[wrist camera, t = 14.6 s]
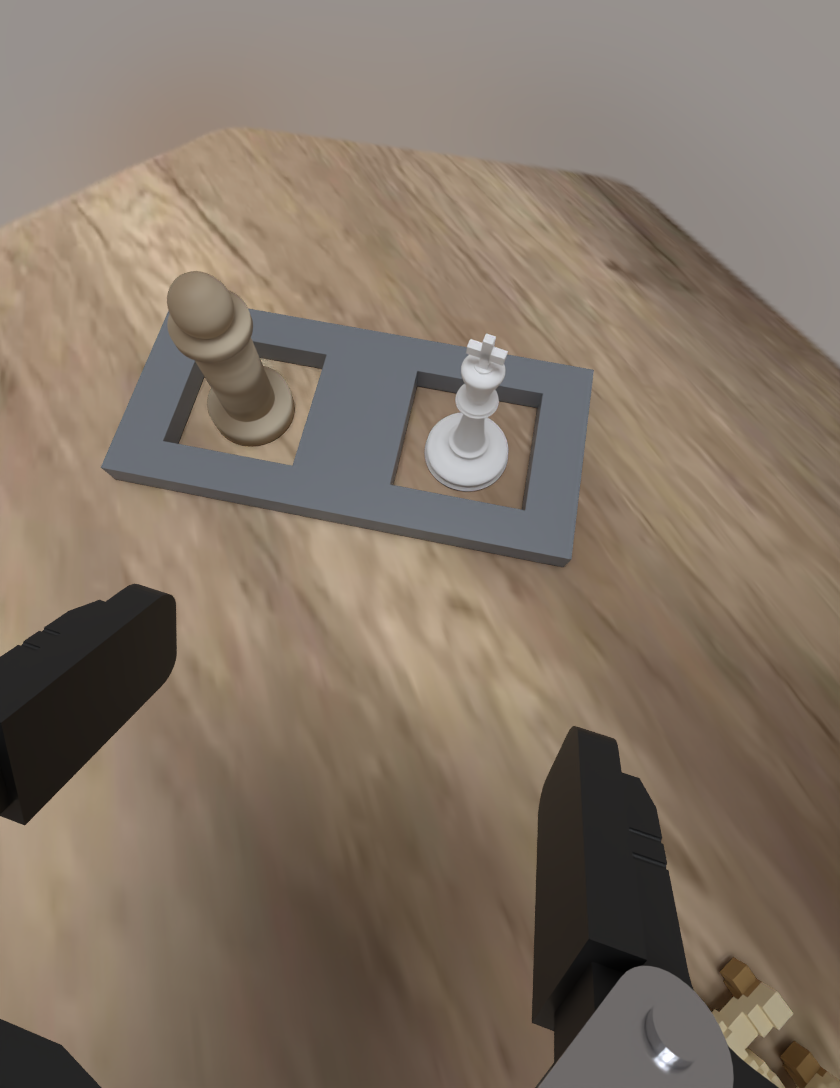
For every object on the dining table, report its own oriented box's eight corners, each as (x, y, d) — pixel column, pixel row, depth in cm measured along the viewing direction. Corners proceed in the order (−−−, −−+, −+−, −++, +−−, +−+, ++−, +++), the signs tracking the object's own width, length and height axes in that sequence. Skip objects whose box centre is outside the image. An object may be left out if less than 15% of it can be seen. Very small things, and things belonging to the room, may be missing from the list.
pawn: (303, 384, 33) (259, 248, 23) (282, 452, 31) (225, 337, 22) (228, 370, 33) (155, 230, 24) (203, 437, 32) (114, 317, 22)
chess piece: (441, 406, 33) (454, 277, 23) (518, 433, 32) (563, 312, 23) (412, 474, 31) (412, 367, 22) (491, 503, 31) (528, 406, 21)
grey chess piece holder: (585, 384, 33) (593, 369, 32) (563, 567, 30) (571, 559, 28) (184, 313, 34) (175, 295, 33) (115, 479, 31) (100, 467, 29)
